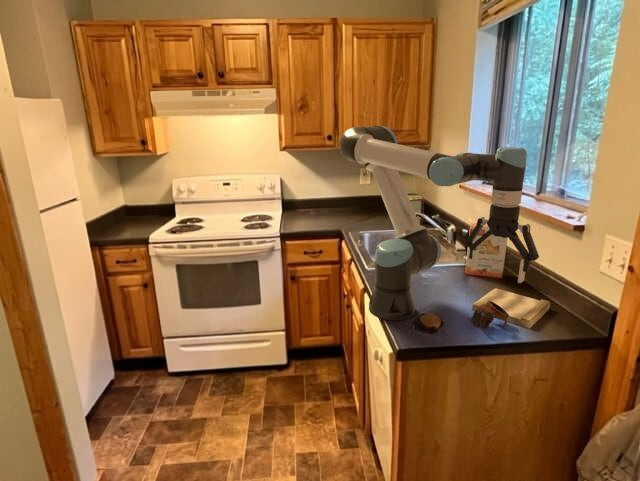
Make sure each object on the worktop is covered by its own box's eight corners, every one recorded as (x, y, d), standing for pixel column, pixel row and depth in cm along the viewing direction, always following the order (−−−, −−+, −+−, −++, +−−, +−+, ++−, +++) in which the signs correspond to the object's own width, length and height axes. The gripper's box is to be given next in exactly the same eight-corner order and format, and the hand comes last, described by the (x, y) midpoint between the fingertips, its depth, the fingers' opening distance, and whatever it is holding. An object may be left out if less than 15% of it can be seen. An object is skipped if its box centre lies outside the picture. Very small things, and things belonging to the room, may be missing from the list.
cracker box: (465, 275, 160) (469, 225, 154) (465, 269, 165) (469, 221, 159) (502, 279, 155) (509, 228, 149) (501, 273, 160) (507, 224, 154)
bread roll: (420, 316, 128) (421, 305, 127) (446, 322, 124) (447, 311, 123) (409, 330, 120) (409, 319, 118) (436, 337, 115) (437, 326, 114)
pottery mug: (471, 315, 128) (487, 296, 125) (497, 335, 124) (513, 315, 121) (464, 322, 117) (481, 301, 115) (492, 344, 113) (510, 322, 111)
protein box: (417, 218, 253) (418, 194, 249) (422, 224, 239) (424, 199, 234) (401, 218, 254) (402, 194, 249) (405, 224, 239) (406, 199, 234)
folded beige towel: (472, 309, 131) (472, 302, 130) (494, 293, 142) (495, 286, 142) (529, 328, 118) (530, 320, 117) (549, 308, 130) (550, 301, 129)
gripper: (456, 200, 115) (450, 268, 121) (550, 213, 98) (538, 291, 104) (468, 197, 120) (461, 262, 126) (559, 208, 103) (547, 283, 109)
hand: (496, 275), depth 115 cm, fingers open, 13 cm apart
